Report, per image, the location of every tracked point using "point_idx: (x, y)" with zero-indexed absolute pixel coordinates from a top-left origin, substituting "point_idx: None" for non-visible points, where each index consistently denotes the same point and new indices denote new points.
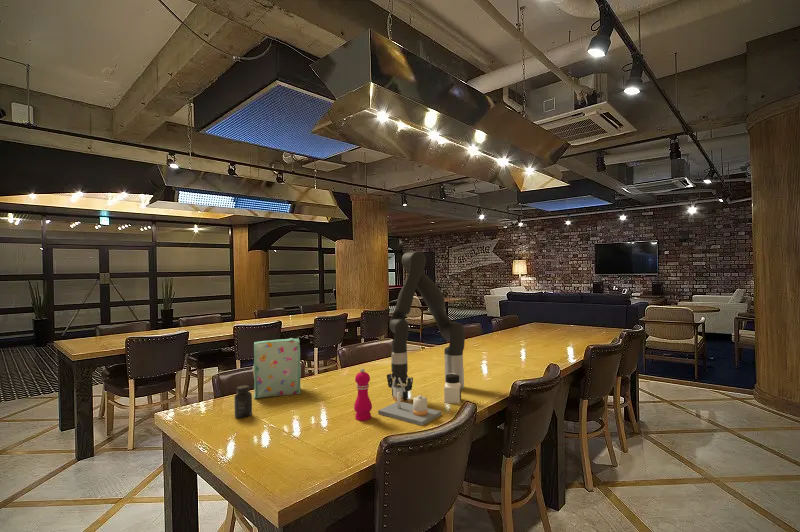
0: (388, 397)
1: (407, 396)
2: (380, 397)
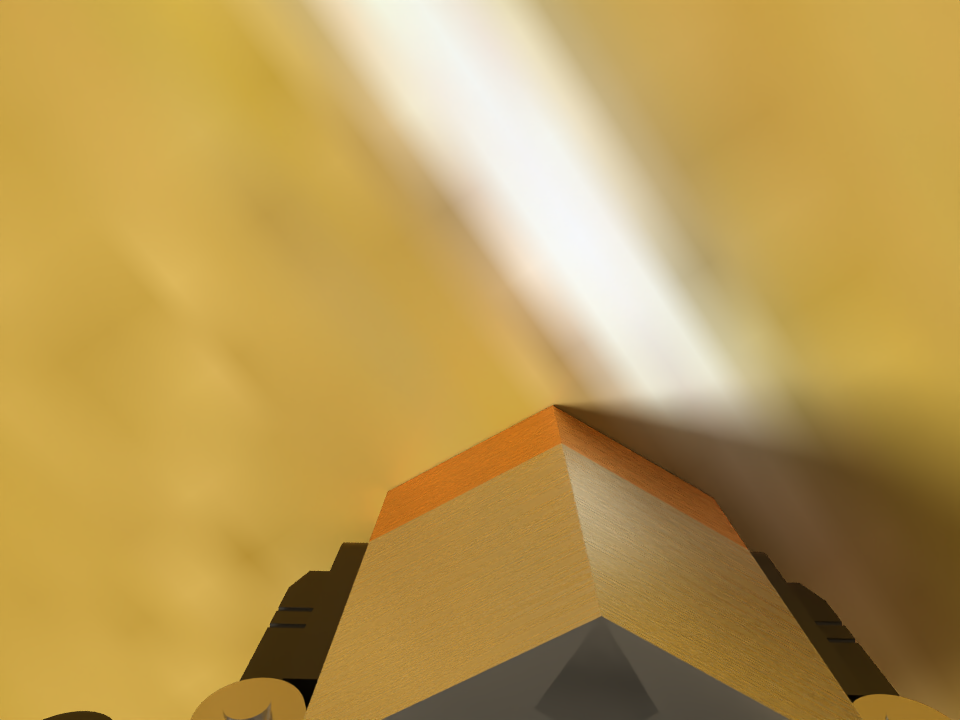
0: (201, 609)
1: (830, 639)
2: (50, 704)
